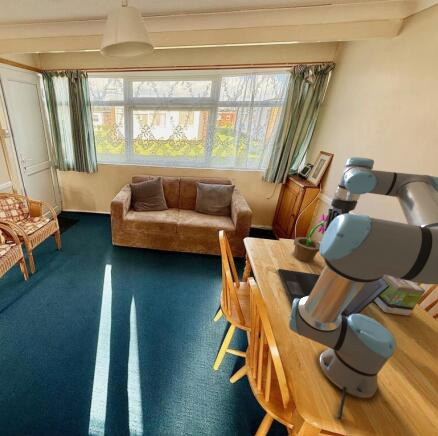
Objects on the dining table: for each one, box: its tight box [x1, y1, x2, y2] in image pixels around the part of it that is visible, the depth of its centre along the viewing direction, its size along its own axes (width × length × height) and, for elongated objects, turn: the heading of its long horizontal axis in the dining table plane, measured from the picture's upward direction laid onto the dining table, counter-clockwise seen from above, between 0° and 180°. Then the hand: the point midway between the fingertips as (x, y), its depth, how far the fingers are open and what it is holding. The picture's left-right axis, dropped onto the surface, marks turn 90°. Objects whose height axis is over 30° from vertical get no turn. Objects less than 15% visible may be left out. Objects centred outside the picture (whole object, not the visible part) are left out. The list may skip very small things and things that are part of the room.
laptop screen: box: [344, 278, 390, 317], centre depth 106 cm, size 21×30×1 cm
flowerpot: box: [293, 213, 328, 263], centre depth 135 cm, size 14×14×30 cm
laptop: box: [277, 268, 348, 317], centre depth 114 cm, size 21×30×2 cm
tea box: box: [373, 274, 426, 316], centre depth 106 cm, size 15×10×15 cm
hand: (325, 248), depth 99 cm, fingers closed
